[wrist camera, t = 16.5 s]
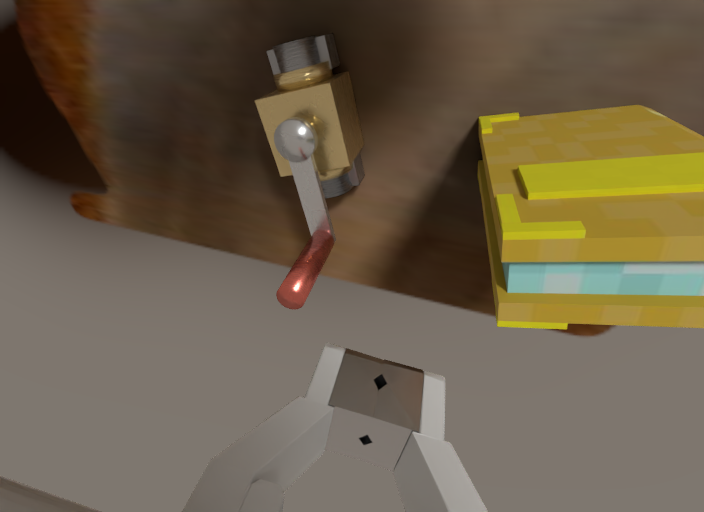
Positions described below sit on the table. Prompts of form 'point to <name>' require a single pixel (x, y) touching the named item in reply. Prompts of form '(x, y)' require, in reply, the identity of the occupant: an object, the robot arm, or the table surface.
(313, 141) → the lever
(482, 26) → the table surface
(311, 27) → the table surface
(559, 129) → the book
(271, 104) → the valve body
